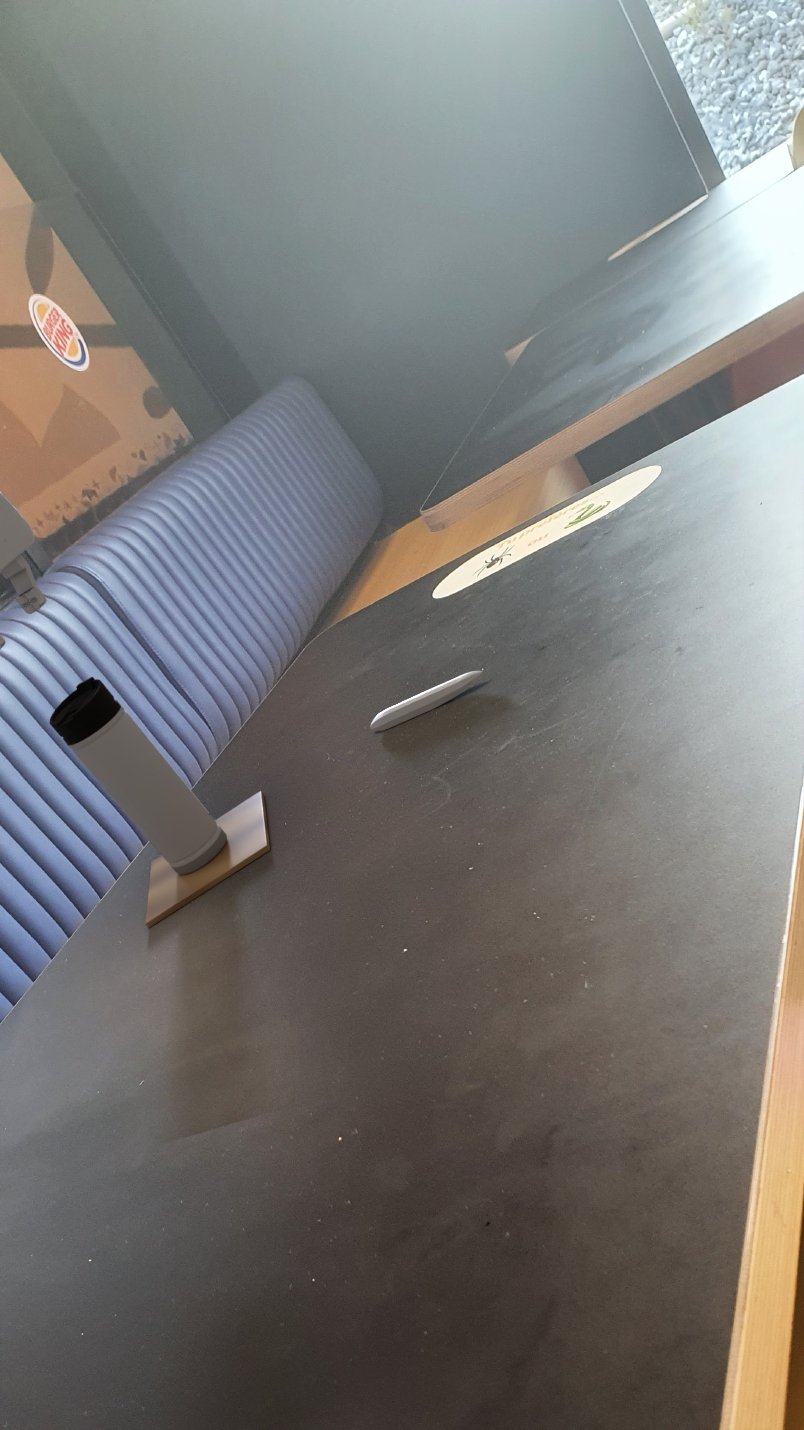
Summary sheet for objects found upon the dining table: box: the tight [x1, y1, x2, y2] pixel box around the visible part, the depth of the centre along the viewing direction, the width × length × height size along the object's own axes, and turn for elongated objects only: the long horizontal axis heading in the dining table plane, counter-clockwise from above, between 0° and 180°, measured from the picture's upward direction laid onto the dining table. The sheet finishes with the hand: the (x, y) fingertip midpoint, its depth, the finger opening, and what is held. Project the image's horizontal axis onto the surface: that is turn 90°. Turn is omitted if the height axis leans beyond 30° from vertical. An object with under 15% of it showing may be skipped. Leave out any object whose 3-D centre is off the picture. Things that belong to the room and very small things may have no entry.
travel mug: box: [49, 676, 227, 875], centre depth 111 cm, size 6×7×20 cm
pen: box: [369, 670, 484, 732], centre depth 116 cm, size 2×14×2 cm, turn 80°
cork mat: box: [144, 790, 271, 929], centre depth 116 cm, size 14×14×1 cm
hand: (18, 629), depth 103 cm, fingers open, 8 cm apart
